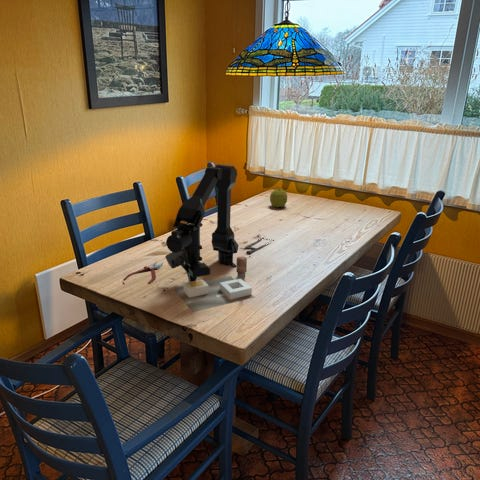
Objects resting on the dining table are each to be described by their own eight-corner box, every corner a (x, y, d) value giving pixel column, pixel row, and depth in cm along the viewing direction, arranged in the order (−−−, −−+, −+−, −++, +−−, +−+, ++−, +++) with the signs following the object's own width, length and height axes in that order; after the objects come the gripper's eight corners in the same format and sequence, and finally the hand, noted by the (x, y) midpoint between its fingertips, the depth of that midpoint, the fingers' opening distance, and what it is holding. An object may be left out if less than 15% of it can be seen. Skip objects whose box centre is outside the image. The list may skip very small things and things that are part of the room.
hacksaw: (249, 255, 183) (249, 252, 183) (229, 250, 189) (229, 246, 188) (279, 239, 202) (279, 236, 201) (260, 234, 207) (260, 231, 206)
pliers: (173, 267, 172) (173, 260, 171) (151, 290, 153) (150, 283, 153) (146, 263, 174) (146, 257, 173) (121, 285, 156) (120, 279, 155)
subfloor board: (172, 291, 152) (172, 287, 151) (230, 279, 161) (230, 275, 161) (192, 316, 137) (192, 311, 136) (254, 301, 147) (254, 297, 146)
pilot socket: (219, 289, 151) (219, 282, 150) (240, 284, 154) (240, 278, 153) (230, 299, 144) (230, 292, 143) (251, 294, 148) (251, 287, 147)
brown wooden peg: (234, 280, 161) (234, 257, 158) (243, 278, 162) (243, 255, 159) (239, 284, 158) (239, 261, 155) (247, 282, 160) (248, 259, 156)
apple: (278, 203, 255) (279, 185, 251) (290, 207, 248) (291, 188, 245) (265, 206, 249) (266, 187, 245) (277, 210, 242) (278, 191, 238)
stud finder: (183, 291, 149) (183, 282, 148) (202, 287, 152) (202, 278, 151) (189, 297, 145) (188, 289, 144) (208, 293, 148) (208, 284, 147)
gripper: (158, 236, 149) (160, 278, 155) (177, 256, 134) (178, 301, 140) (189, 232, 154) (190, 272, 160) (211, 250, 139) (211, 294, 145)
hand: (191, 284), depth 151 cm, fingers closed
